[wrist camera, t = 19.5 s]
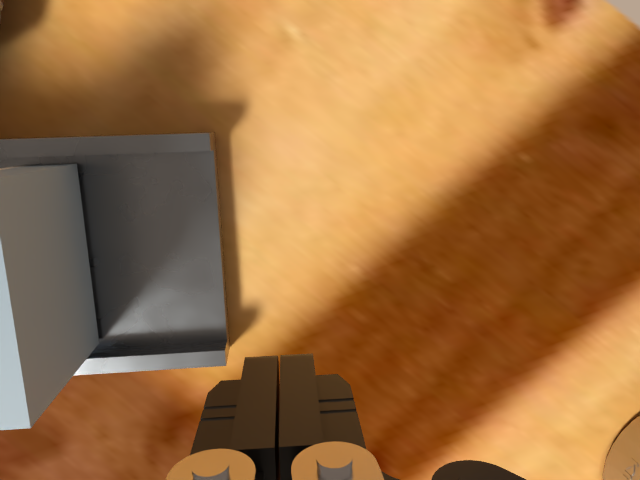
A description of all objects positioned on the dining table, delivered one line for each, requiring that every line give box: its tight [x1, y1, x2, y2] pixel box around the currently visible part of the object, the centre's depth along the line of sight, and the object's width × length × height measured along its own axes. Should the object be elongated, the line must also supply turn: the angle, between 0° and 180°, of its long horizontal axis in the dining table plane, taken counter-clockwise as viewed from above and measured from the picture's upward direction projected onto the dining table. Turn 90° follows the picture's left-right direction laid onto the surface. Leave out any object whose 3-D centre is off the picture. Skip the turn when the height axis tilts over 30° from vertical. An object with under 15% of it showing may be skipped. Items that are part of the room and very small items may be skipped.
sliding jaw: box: [0, 164, 99, 430], centre depth 22 cm, size 3×9×8 cm, turn 1°
